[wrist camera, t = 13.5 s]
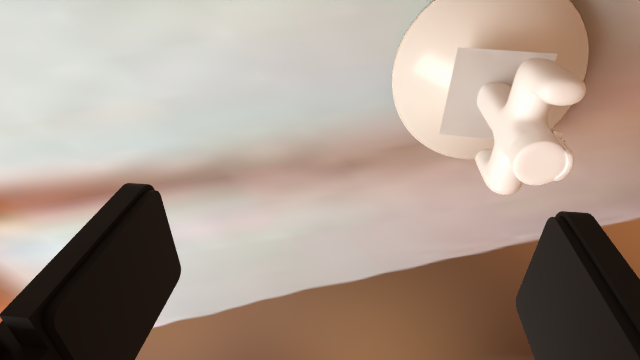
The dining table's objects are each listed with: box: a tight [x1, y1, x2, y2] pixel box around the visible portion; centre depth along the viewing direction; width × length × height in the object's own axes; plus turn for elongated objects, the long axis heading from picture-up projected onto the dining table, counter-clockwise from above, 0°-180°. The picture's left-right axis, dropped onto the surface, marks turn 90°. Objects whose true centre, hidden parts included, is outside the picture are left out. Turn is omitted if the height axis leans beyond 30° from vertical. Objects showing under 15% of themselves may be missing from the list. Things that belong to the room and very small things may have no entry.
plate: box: [392, 0, 589, 159], centre depth 35 cm, size 16×16×2 cm
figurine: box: [439, 47, 586, 195], centre depth 28 cm, size 7×9×15 cm
